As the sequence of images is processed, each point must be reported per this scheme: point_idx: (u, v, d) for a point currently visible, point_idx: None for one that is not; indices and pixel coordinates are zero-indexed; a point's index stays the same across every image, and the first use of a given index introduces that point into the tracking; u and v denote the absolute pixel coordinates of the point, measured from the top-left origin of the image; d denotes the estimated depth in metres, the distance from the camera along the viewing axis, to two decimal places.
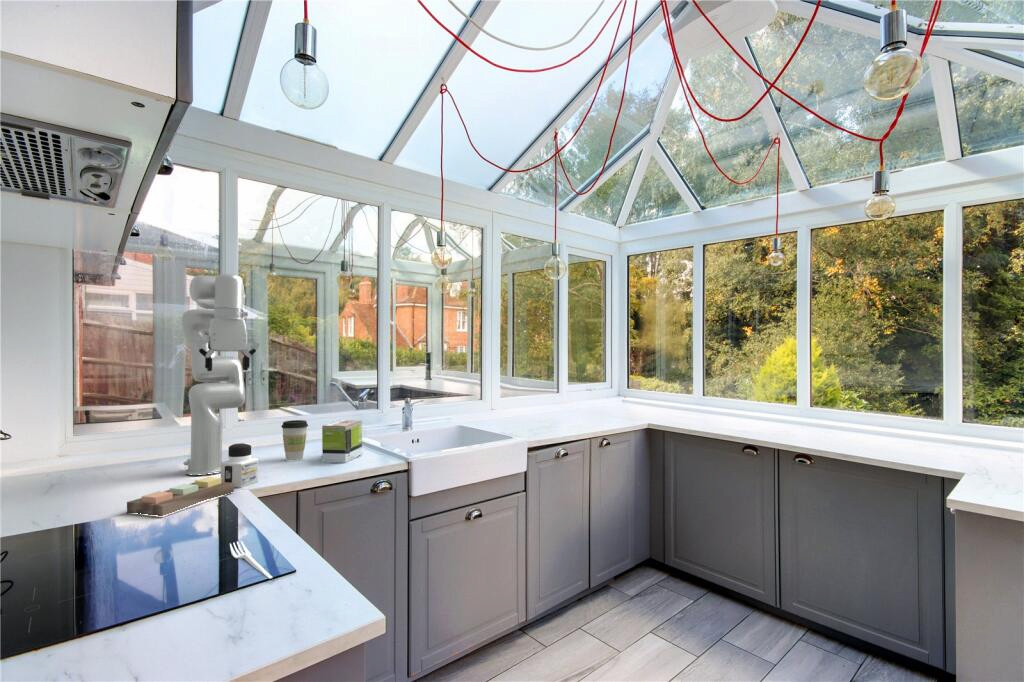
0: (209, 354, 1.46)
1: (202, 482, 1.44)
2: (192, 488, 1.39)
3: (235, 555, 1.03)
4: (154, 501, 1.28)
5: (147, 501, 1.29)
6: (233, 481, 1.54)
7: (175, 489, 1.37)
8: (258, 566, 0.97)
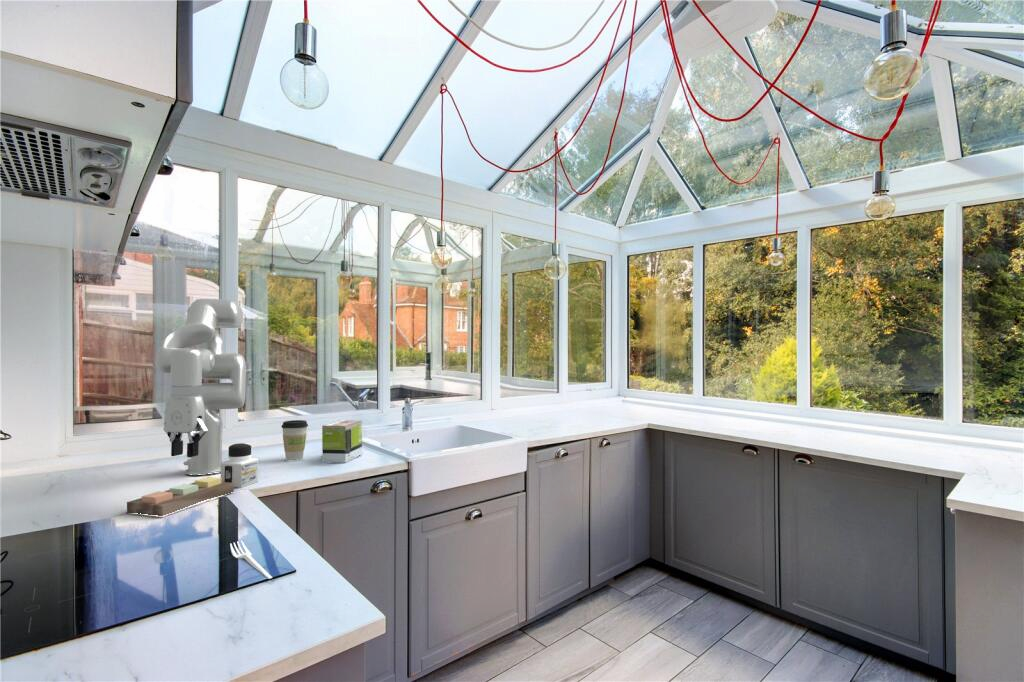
0: None
1: (202, 482, 1.44)
2: (192, 488, 1.39)
3: (235, 555, 1.03)
4: (154, 501, 1.28)
5: (147, 501, 1.29)
6: (233, 481, 1.54)
7: (175, 489, 1.37)
8: (258, 566, 0.97)
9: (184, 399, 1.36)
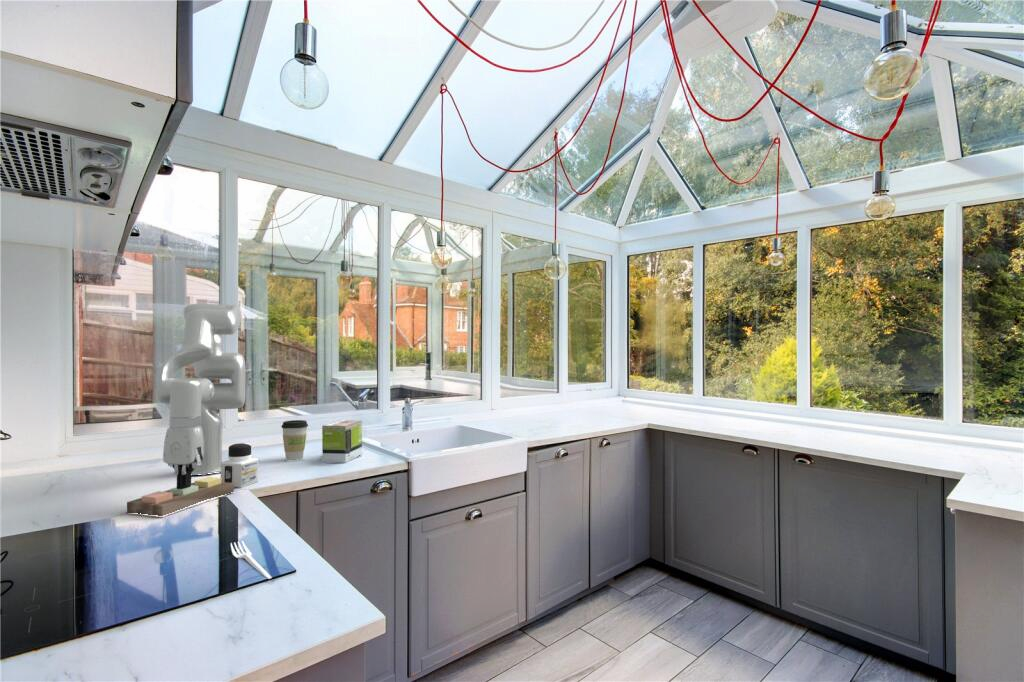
0: None
1: (202, 482, 1.44)
2: (192, 489, 1.39)
3: (236, 555, 1.03)
4: (154, 501, 1.28)
5: (147, 501, 1.29)
6: (233, 481, 1.54)
7: (175, 490, 1.37)
8: (258, 566, 0.97)
9: (183, 431, 1.36)
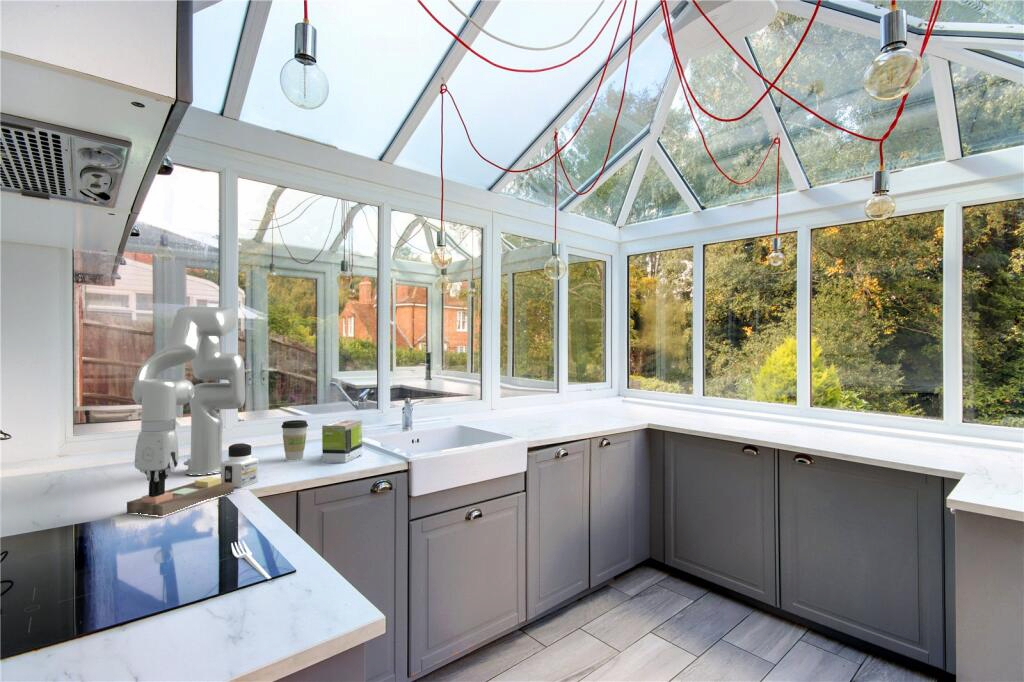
0: None
1: (202, 482, 1.44)
2: None
3: (236, 555, 1.03)
4: (154, 501, 1.28)
5: (147, 501, 1.29)
6: (233, 481, 1.54)
7: (175, 493, 1.37)
8: (257, 566, 0.97)
9: (156, 435, 1.28)
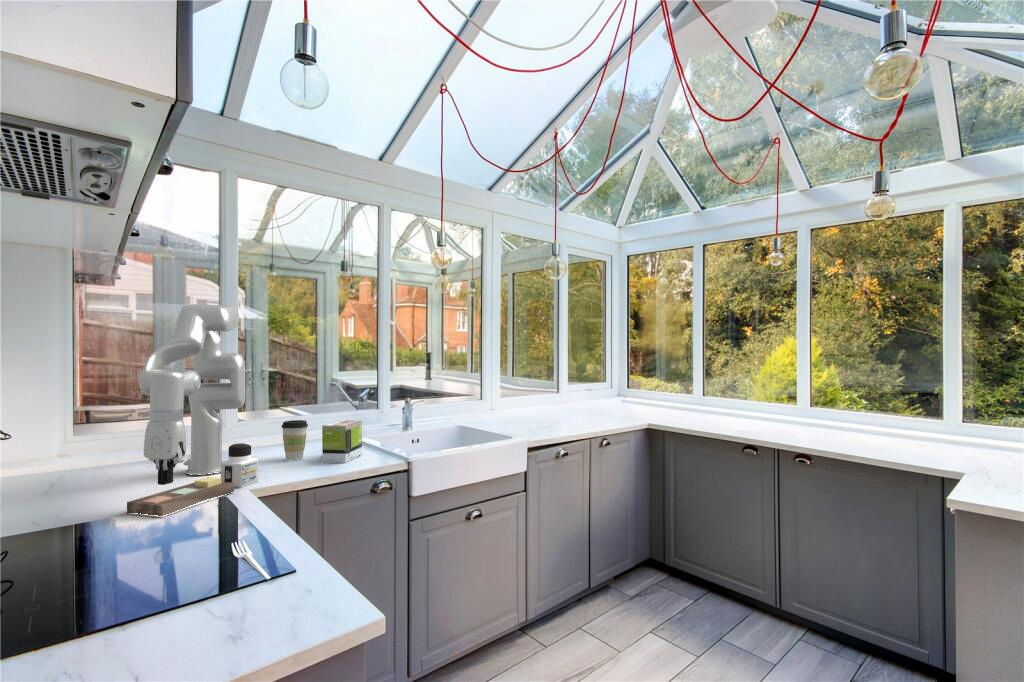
0: None
1: (202, 482, 1.44)
2: None
3: (236, 555, 1.03)
4: None
5: None
6: (233, 481, 1.54)
7: (175, 493, 1.37)
8: (257, 566, 0.97)
9: (164, 424, 1.31)
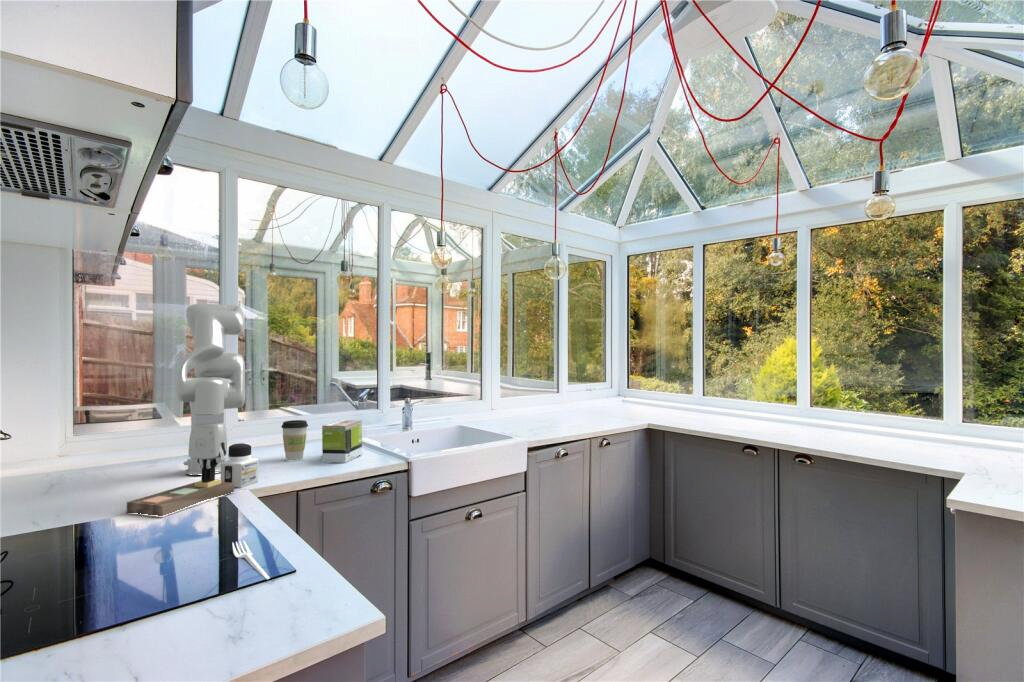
0: None
1: (202, 483, 1.44)
2: None
3: (237, 554, 1.03)
4: None
5: None
6: (233, 481, 1.54)
7: (175, 493, 1.37)
8: (257, 566, 0.97)
9: (208, 427, 1.44)
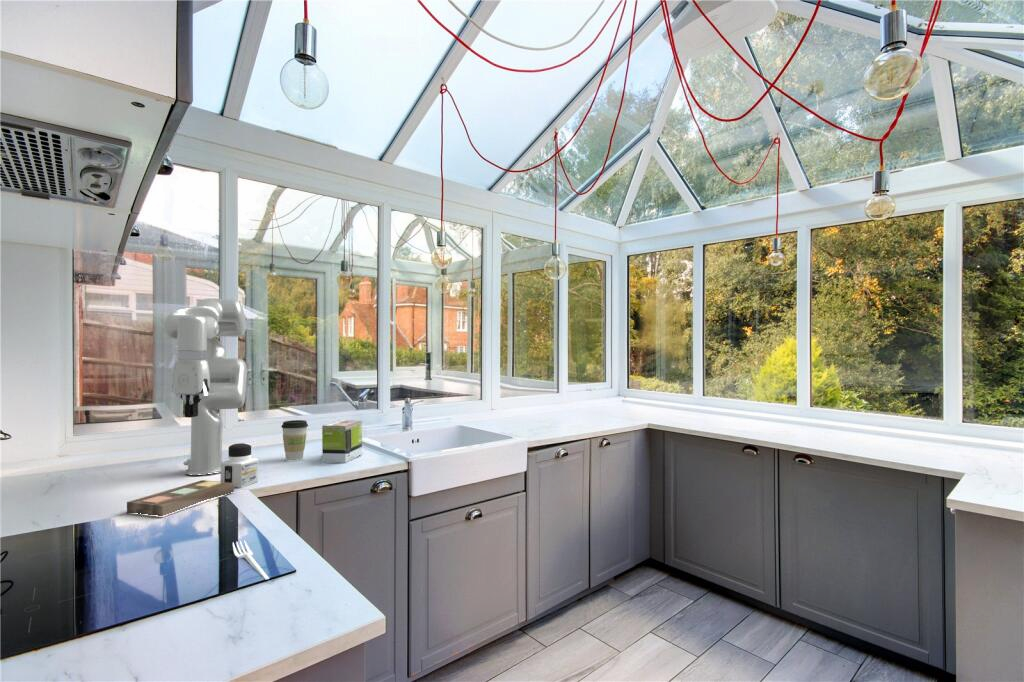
0: None
1: (202, 486, 1.44)
2: None
3: (237, 554, 1.03)
4: None
5: None
6: (233, 481, 1.54)
7: (175, 493, 1.37)
8: (257, 566, 0.97)
9: (191, 363, 1.45)
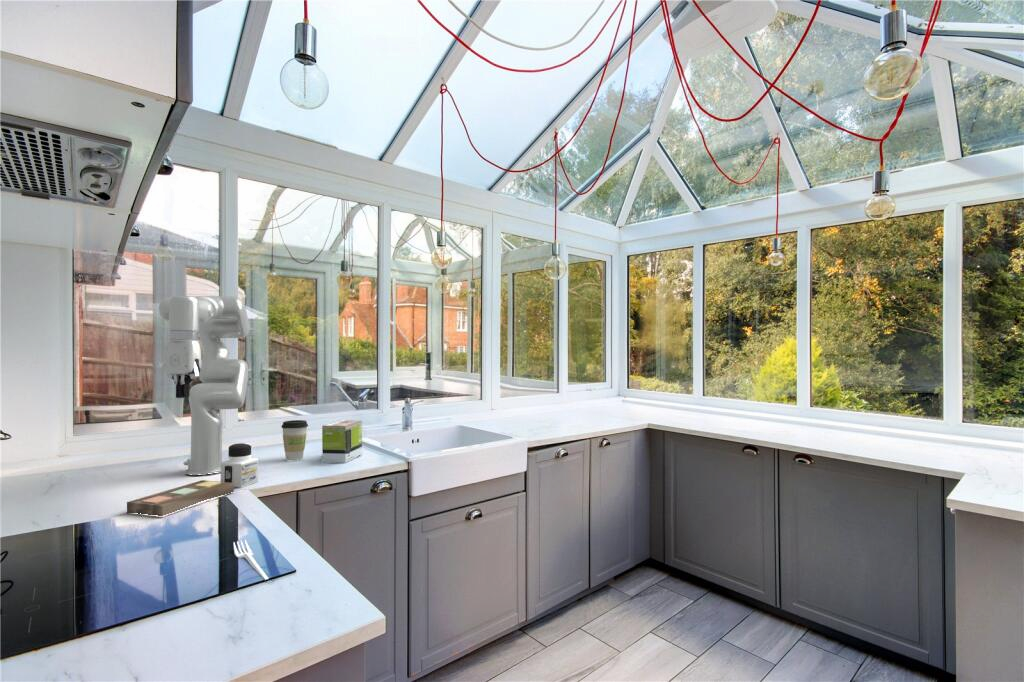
0: None
1: (202, 486, 1.44)
2: None
3: (237, 554, 1.03)
4: None
5: None
6: (233, 481, 1.54)
7: (175, 493, 1.37)
8: (256, 566, 0.97)
9: (182, 342, 1.45)
